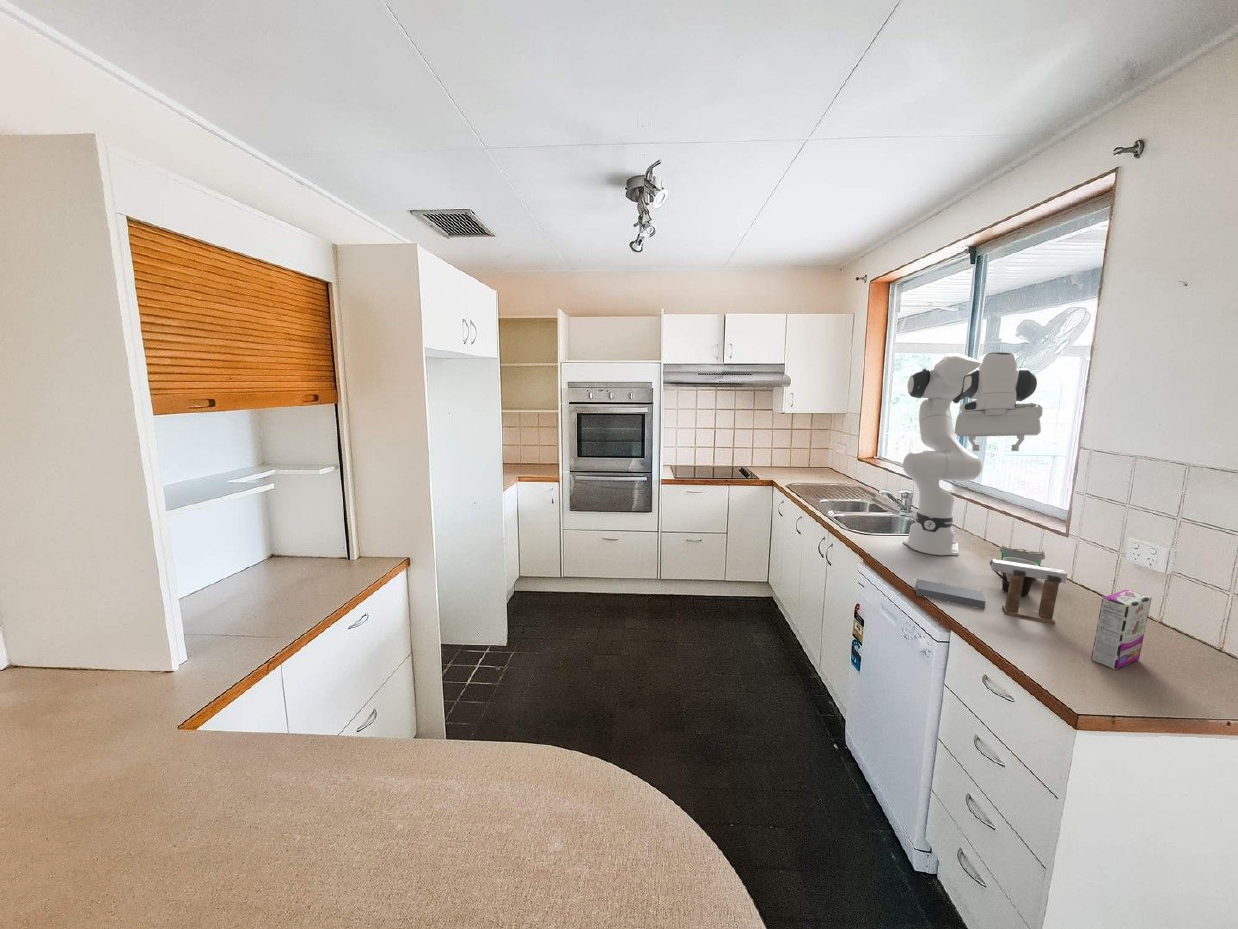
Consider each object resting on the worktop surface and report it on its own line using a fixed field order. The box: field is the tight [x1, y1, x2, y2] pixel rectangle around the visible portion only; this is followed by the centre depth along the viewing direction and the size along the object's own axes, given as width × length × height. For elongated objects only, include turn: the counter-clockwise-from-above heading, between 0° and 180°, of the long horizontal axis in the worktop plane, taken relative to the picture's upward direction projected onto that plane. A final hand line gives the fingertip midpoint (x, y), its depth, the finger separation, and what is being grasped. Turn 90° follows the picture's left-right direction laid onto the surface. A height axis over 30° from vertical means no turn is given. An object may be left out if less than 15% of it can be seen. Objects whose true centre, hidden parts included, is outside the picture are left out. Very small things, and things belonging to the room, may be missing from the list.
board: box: [915, 578, 986, 610], centre depth 149 cm, size 17×8×2 cm, turn 60°
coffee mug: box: [989, 557, 1038, 598], centre depth 154 cm, size 12×9×10 cm
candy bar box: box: [1090, 589, 1153, 671], centre depth 115 cm, size 11×5×16 cm, turn 114°
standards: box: [1001, 571, 1062, 625], centre depth 137 cm, size 11×5×13 cm, turn 60°
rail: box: [990, 558, 1068, 584], centre depth 137 cm, size 16×3×3 cm, turn 60°
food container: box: [999, 544, 1046, 582], centre depth 163 cm, size 12×6×10 cm, turn 68°
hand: (994, 450), depth 145 cm, fingers open, 8 cm apart
